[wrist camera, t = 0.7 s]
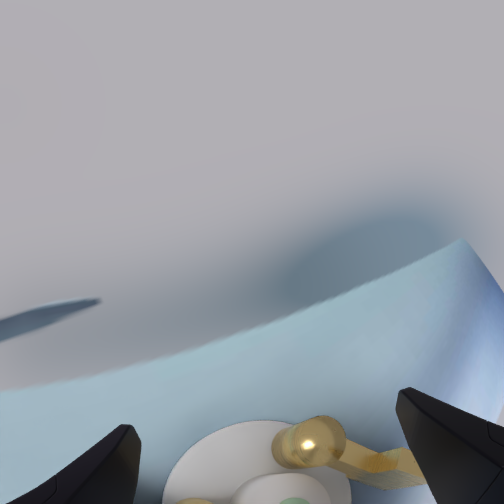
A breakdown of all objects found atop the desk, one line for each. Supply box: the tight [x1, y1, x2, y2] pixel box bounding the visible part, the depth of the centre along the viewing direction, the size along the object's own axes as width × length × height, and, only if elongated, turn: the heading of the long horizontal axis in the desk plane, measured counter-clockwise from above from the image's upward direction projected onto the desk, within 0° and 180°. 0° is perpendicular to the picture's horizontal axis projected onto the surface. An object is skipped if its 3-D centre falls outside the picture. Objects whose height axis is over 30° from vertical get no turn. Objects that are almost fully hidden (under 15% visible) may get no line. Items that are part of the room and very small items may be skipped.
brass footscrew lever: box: [271, 416, 427, 490], centre depth 16 cm, size 3×11×6 cm, turn 63°
